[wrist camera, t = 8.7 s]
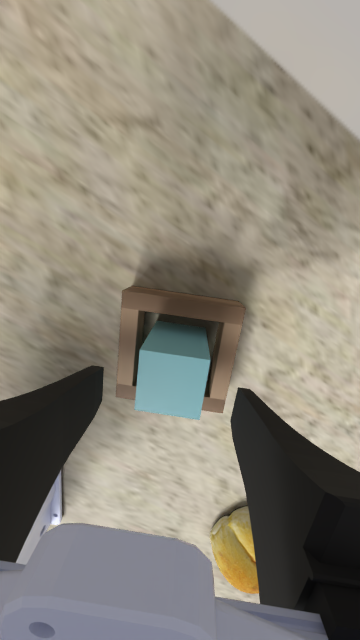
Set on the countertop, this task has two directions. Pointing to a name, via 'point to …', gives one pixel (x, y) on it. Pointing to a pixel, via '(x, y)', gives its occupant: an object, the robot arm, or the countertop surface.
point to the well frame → (185, 306)
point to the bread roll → (236, 550)
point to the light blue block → (173, 370)
